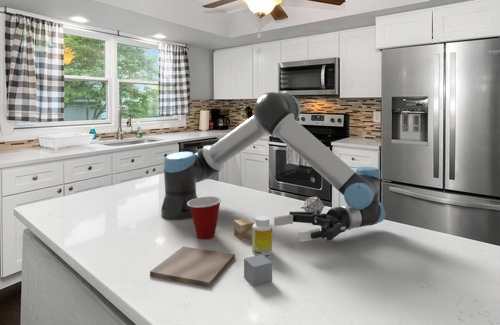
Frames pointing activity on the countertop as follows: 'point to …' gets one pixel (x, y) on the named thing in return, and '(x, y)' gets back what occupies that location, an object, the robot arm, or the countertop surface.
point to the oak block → (243, 228)
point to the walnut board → (193, 266)
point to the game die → (313, 204)
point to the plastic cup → (205, 215)
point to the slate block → (257, 270)
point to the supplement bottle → (262, 236)
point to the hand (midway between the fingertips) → (286, 228)
